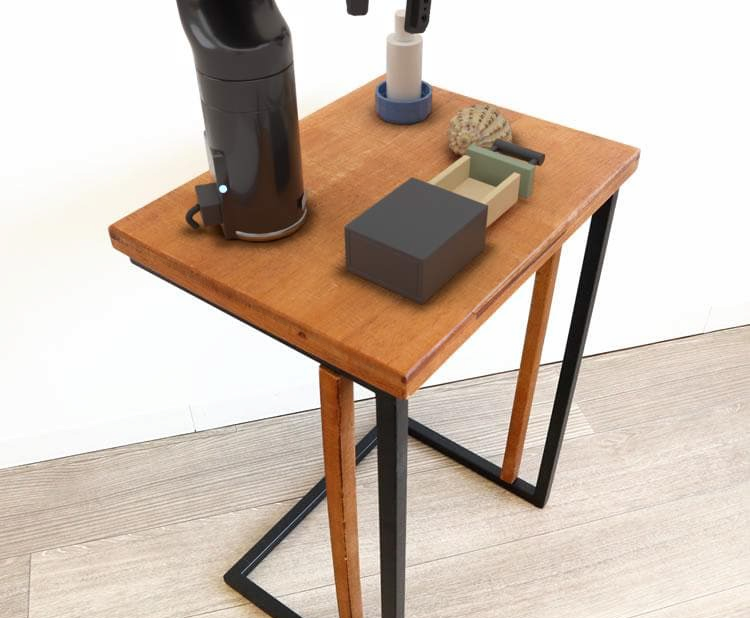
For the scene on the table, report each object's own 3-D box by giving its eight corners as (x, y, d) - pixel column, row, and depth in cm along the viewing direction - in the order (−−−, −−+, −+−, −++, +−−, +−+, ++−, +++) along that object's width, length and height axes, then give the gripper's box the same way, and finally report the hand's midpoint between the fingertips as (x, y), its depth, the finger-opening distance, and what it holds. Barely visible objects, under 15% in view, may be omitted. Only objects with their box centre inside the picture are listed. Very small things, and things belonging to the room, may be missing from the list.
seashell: (448, 152, 106) (443, 157, 97) (451, 102, 104) (447, 102, 95) (510, 156, 105) (511, 162, 96) (515, 106, 103) (516, 106, 94)
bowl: (385, 129, 105) (385, 106, 103) (368, 104, 110) (368, 81, 108) (439, 120, 106) (440, 97, 104) (420, 96, 111) (421, 73, 109)
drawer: (489, 157, 98) (491, 129, 95) (550, 178, 94) (554, 149, 92) (417, 213, 89) (418, 183, 87) (482, 238, 86) (484, 208, 83)
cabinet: (410, 219, 90) (411, 176, 86) (484, 249, 86) (488, 205, 82) (345, 270, 84) (343, 226, 80) (422, 305, 79) (423, 260, 76)
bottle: (392, 118, 106) (393, 21, 97) (381, 103, 109) (381, 8, 100) (425, 113, 107) (428, 16, 98) (414, 98, 110) (416, 3, 101)
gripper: (317, -185, 75) (309, 11, 83) (426, -177, 66) (405, 41, 74) (381, -177, 79) (367, 8, 88) (492, -169, 70) (464, 36, 79)
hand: (385, 23), depth 81 cm, fingers open, 8 cm apart
